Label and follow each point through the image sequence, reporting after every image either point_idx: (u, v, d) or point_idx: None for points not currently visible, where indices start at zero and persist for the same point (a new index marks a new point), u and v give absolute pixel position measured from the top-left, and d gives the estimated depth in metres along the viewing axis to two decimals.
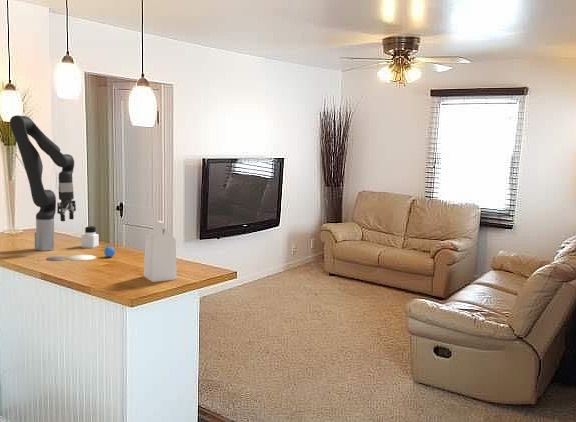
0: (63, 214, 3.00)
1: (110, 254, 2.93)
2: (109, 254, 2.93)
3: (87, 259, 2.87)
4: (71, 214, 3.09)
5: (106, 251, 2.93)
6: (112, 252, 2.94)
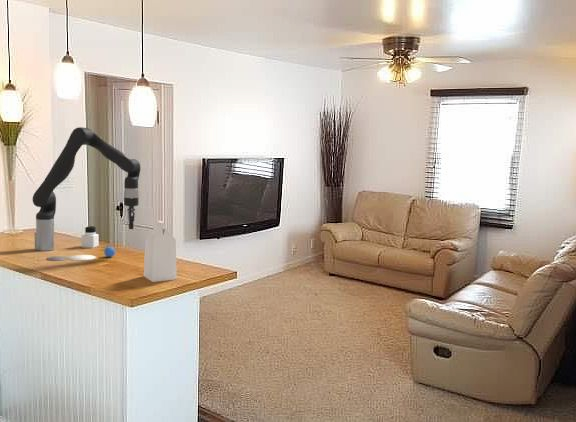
0: (132, 222, 2.97)
1: (110, 254, 2.93)
2: (109, 254, 2.93)
3: (87, 259, 2.87)
4: None
5: (106, 251, 2.93)
6: (112, 252, 2.94)
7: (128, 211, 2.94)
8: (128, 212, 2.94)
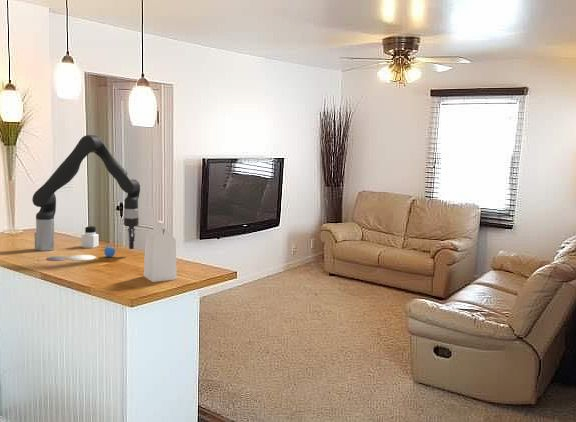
0: None
1: (110, 254, 2.93)
2: (109, 254, 2.93)
3: (87, 259, 2.87)
4: None
5: (106, 251, 2.93)
6: (112, 252, 2.94)
7: (128, 231, 2.96)
8: (128, 232, 2.96)
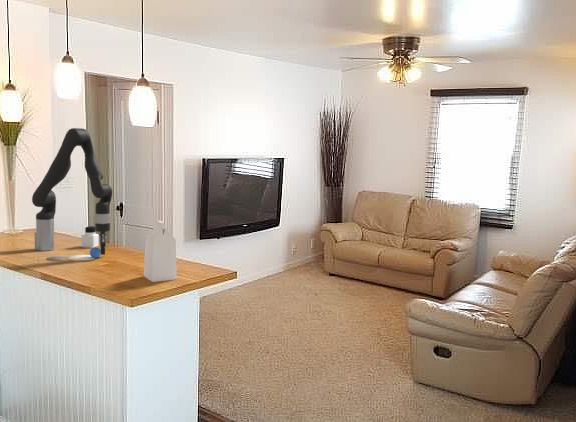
0: None
1: (97, 252, 2.90)
2: (98, 253, 2.90)
3: (87, 259, 2.87)
4: None
5: (97, 257, 2.91)
6: (94, 252, 2.89)
7: (99, 237, 2.91)
8: (99, 238, 2.91)
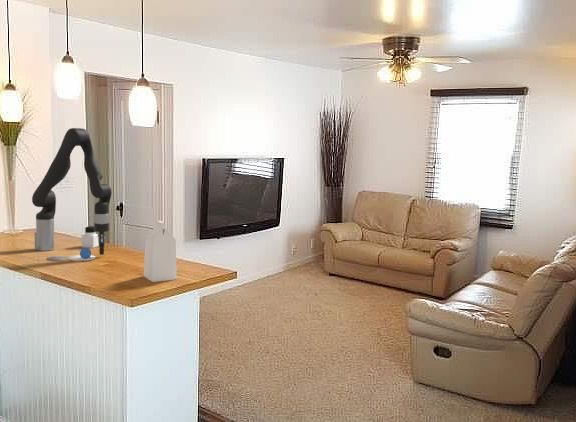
0: None
1: (86, 253, 2.86)
2: (86, 252, 2.87)
3: (87, 259, 2.87)
4: None
5: (90, 252, 2.89)
6: (85, 256, 2.87)
7: (98, 237, 2.91)
8: (98, 238, 2.91)
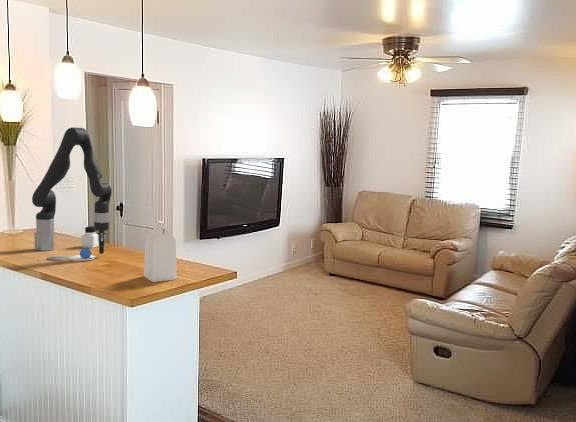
0: None
1: (86, 253, 2.86)
2: (86, 252, 2.87)
3: (87, 259, 2.87)
4: None
5: (90, 252, 2.89)
6: (85, 256, 2.87)
7: (98, 236, 2.91)
8: (98, 237, 2.91)
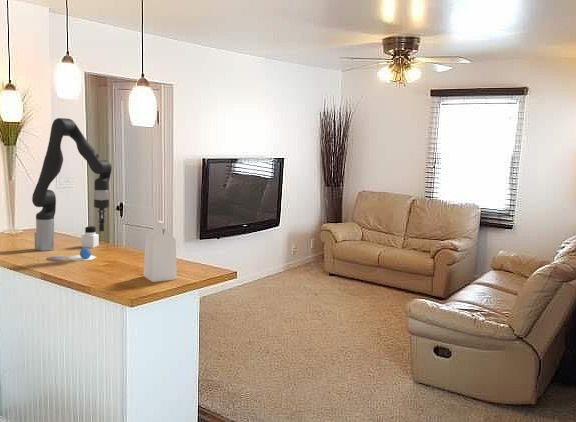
0: (103, 224, 2.92)
1: (86, 253, 2.86)
2: (86, 252, 2.87)
3: (87, 259, 2.87)
4: None
5: (90, 252, 2.89)
6: (85, 256, 2.87)
7: (98, 213, 2.89)
8: (98, 214, 2.89)
